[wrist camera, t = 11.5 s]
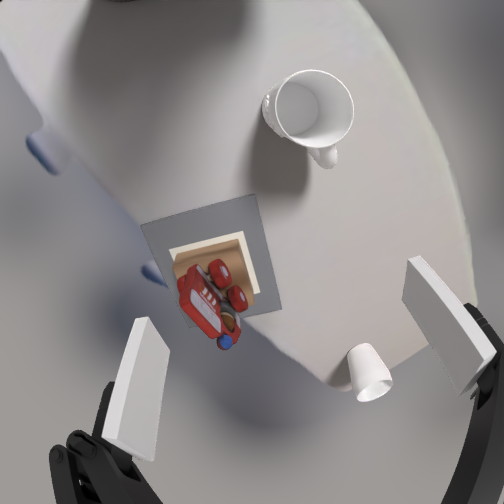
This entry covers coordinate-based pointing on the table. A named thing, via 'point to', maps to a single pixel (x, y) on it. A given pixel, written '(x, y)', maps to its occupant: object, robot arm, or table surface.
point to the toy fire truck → (213, 302)
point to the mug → (310, 112)
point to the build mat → (212, 232)
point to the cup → (368, 373)
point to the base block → (228, 254)
